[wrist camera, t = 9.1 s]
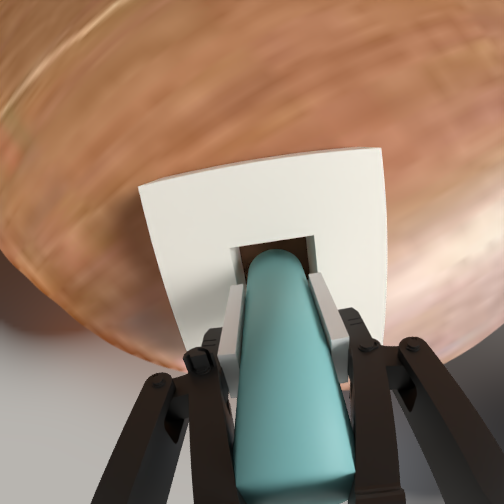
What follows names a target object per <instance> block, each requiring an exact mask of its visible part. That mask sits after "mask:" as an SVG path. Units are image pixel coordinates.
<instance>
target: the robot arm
mask: <svg viewBox="0 0 504 504" xmlns="http://www.w3.org/2000/svg"><path fill="white" fill-rule="evenodd" d="M308 276H309V286H310V291H311V294H312V297H313V300H314V303H315V306H316V309H317V312H318V315H319V318H320V321H321V324H322V328H323V331H324V334H325V337H326V340H327V343H328V347H329V350H330V353H331V356H332V360H333V363H334V366H335V370H336V373H337V376H338V380H339V383H345V382H348V375H349V378H350V396H349V398H350V406H351V407H350V409H351V426H352V429H353V433H354V441H355V476H354V480H353V483H352V487H351V491H350V494H349V498H348V504H406V499H405V492H404V490H403V489H402V488H401V486H400V474H399V461H398V449H397V441H396V432H395V423H394V416H393V408H392V402H391V395H390V390H393V392H394V394H395V396H396V398H397V400H398V402H399V404H400V406H401V408H402V410H403V412H404V414H405V416H406V418H407V420H408V422H409V424H410V426H411V428H412V430H413V432H414V434H415V437H416V439H417V441H418V443H419V445H420V447H421V449H422V451H423V454H424V456H425V458H426V460H427V462H428V464H429V466H430V469H431V471H432V473H433V476H434V478H435V480H436V483H437V485H438V487H439V489H440V492H441V494H442V497H443V499H444V502H445V504H504V453H503V452H502V450H501V448H500V447H499V445H498V443H497V442H496V440H495V438H494V437H493V435H492V434H491V432H490V431H489V429H488V428H487V426H486V425H485V423H484V422H483V420H482V419H481V417H480V416H479V414H478V412H477V411H476V409H475V408H474V407H473V405H472V404H471V402H470V401H469V399H468V398H467V397H466V395H465V394H464V392H463V391H462V389H461V388H460V387H459V385H458V384H457V383H456V381H455V380H454V378H453V377H452V376H451V374H450V373H449V372H448V370H447V369H446V368H445V366H444V365H443V364H442V362H441V361H440V360H439V358H438V357H437V356H436V354H435V353H434V352H433V351H432V349H431V348H430V347H429V345H428V344H427V343H426V342H425V341H424V340H423V339H421V338H418V337H407V338H405V339H403V340H402V341H401V342H400V343H399V346H383V345H381V344H380V342H379V341H378V340H376V339H374V338H372V336H371V334H370V333H369V331H368V329H367V327H366V325H365V323H364V321H363V319H362V318H361V316H360V314H359V312H358V311H357V310H355V309H354V308H352V307H350V308H345V309H339V310H338V309H337V307H336V305H335V303H334V300H333V298H332V296H331V294H330V291H329V289H328V287H327V285H326V283H325V280H324V278H323V276H322V274H321V272H319V273H313V274H308ZM245 302H246V296H245V291H244V286H243V284H239V285H232V286H231V287H230V292H229V297H228V302H227V307H226V312H225V318H224V323H223V327H219V328H210V329H209V330H208V331H207V332H206V333H205V334H204V337H203V342H202V345H201V347H195V348H192V349H190V350H189V351H187V352H186V353H185V354H184V357H183V360H184V363H185V365H186V368H187V370H188V374H186V375H183V376H180V377H177V378H173V379H172V377H171V375H169V374H167V373H163V372H162V373H156V374H154V375H152V376H150V377H149V378H148V379H147V380H146V381H145V383H144V386H143V388H142V390H141V392H140V394H139V396H138V398H137V400H136V402H135V404H134V407H133V409H132V411H131V413H130V415H129V417H128V420H127V422H126V424H125V426H124V428H123V430H122V433H121V435H120V437H119V439H118V441H117V444H116V446H115V448H114V450H113V452H112V455H111V457H110V459H109V462H108V464H107V466H106V468H105V471H104V473H103V475H102V478H101V480H100V482H99V485H98V487H97V490H96V492H95V494H94V497H93V499H92V502H91V504H166V503H167V499H168V495H169V492H170V488H171V484H172V481H173V477H174V473H175V470H176V466H177V462H178V459H179V455H180V451H181V448H182V444H183V441H184V437H185V433H186V430H187V426H188V423H189V431H190V453H191V469H192V470H191V471H192V485H193V498H194V504H247V503H246V502H245V500H244V499H243V497H242V495H241V494H240V492H239V491H238V489H237V487H236V482H235V474H234V464H233V443H234V431H235V429H234V423H233V418H232V412H231V407H230V403H229V400H228V394H229V393H230V396H231V398H237V395H238V383H239V372H240V360H241V348H242V337H243V325H244V314H245Z"/></svg>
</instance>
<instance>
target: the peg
mask: <svg viewBox="0 0 504 504" xmlns="http://www.w3.org/2000/svg"><path fill="white" fill-rule="evenodd" d="M233 464H234V474H235V482H236V487H237V489H238V491H239V492H240V494H241V495H242V497H243V499H244V500H245V502H246V503H247V504H340V503H343V502H345V501H347V500H348V498H349V494H350V491H351V487H352V483H353V480H354V476H355V441H354V433H353V429H352V426H351V422H350V419H349V415H348V411H347V408H346V404H345V400H344V397H343V393H342V390H341V387H340V383H339V380H338V376H337V373H336V370H335V366H334V363H333V360H332V356H331V353H330V350H329V347H328V343H327V340H326V337H325V334H324V331H323V328H322V324H321V321H320V318H319V315H318V312H317V309H316V306H315V303H314V300H313V297H312V294H311V291H310V288H309V285H308V282H307V279H306V276H305V273H304V270H303V267H302V264H301V262H300V261H299V259H298V258H297V257H296V256H295V255H293V254H292V253H290V252H288V251H286V250H282V249H271V250H267V251H264V252H262V253H261V254H259V255H258V256H257V257H255V259H254V260H253V261H252V263H251V264H250V267H249V270H248V279H247V291H246V302H245V314H244V325H243V337H242V348H241V360H240V372H239V383H238V395H237V408H236V419H235V431H234V443H233Z"/></svg>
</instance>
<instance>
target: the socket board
mask: <svg viewBox="0 0 504 504" xmlns="http://www.w3.org/2000/svg"><path fill="white" fill-rule="evenodd" d="M138 188H139V193H140V197H141V201H142V206H143V210H144V214H145V218H146V222H147V226H148V230H149V233H150V237H151V241H152V245H153V248H154V252H155V255H156V259H157V262H158V266H159V269H160V273H161V276H162V279H163V282H164V286H165V289H166V292H167V295H168V298H169V301H170V305H171V308H172V311H173V314H174V317H175V320H176V322H177V325H178V328H179V331H180V334H181V337H182V340H183V342H184V345H185V348H186V350H187V351H189V350H190V349H192V348H195V347H201V345H202V342H203V337H204V334H205V333H206V332H207V331H208V330H209V329H210V328H219V327H223V323H224V318H225V312H226V307H227V302H228V297H229V292H230V287H231V286H232V285H239V284H243V286H244V291H245V296H246V291H247V285H246V280H245V275H244V270H243V265H242V260H241V255H240V250H239V246H246V245H252V244H259V243H266V242H272V241H279V240H285V239H292V238H299V237H305V236H306V243H307V252H308V261H309V271H310V274H313V273H319V272H321V274H322V276H323V278H324V280H325V283H326V285H327V287H328V289H329V291H330V294H331V296H332V298H333V300H334V303H335V305H336V307H337V309H338V310H339V309H345V308H350V307H352V308H354V309H355V310H357V311H358V312H359V314H360V316H361V318H362V319H363V321H364V323H365V325H366V327H367V329H368V331H369V333H370V334H371V336H372V338H374V339H376V340H378V341H379V342H380V344H381V345H383V337H384V325H385V311H386V292H387V216H386V197H385V183H384V172H383V161H382V152H381V148H374V147H350V148H339V149H329V150H319V151H311V152H302V153H295V154H287V155H280V156H273V157H267V158H260V159H254V160H248V161H242V162H236V163H231V164H225V165H220V166H215V167H210V168H205V169H200V170H195V171H190V172H186V173H181V174H177V175H172V176H168V177H164V178H160V179H157V180H155V181H152V182H149V183H146V184H144V185H141V186H138ZM307 282H308V285H309V280H307ZM309 288H310V286H309Z"/></svg>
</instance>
